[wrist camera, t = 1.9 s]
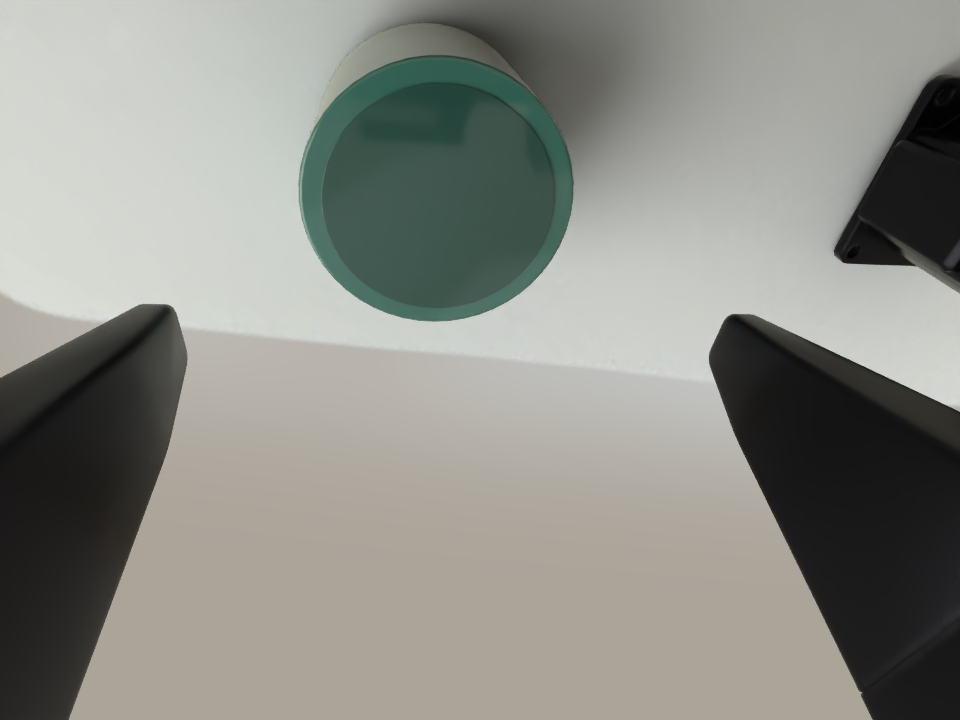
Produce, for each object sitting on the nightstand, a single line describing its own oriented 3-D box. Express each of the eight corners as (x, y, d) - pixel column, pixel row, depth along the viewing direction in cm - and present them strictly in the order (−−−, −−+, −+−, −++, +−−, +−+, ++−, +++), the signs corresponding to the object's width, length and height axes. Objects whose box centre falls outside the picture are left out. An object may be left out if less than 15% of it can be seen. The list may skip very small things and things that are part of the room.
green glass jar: (547, 32, 15) (604, 71, 11) (514, 242, 19) (547, 324, 15) (309, 7, 14) (281, 40, 10) (325, 235, 18) (310, 322, 14)
